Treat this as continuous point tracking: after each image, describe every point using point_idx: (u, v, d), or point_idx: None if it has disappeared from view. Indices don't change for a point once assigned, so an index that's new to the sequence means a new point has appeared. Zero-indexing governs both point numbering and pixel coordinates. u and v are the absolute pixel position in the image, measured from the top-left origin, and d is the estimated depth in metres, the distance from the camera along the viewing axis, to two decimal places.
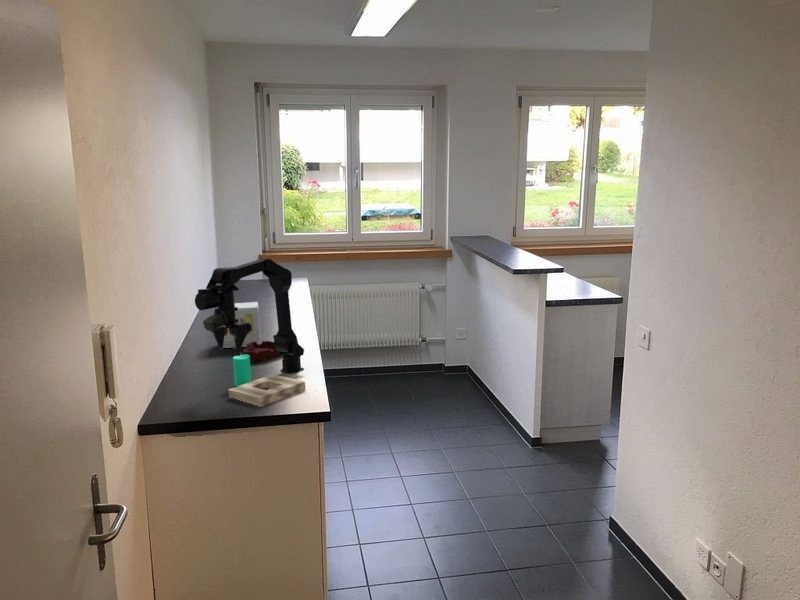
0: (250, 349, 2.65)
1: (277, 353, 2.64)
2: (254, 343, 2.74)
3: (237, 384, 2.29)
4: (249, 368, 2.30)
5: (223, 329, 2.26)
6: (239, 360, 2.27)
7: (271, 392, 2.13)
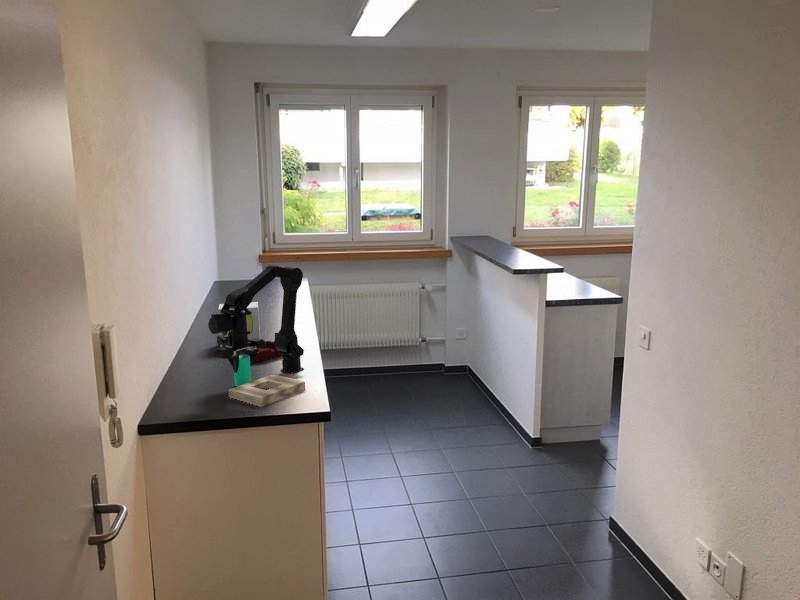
0: None
1: (278, 353, 2.64)
2: None
3: (237, 384, 2.29)
4: (249, 368, 2.30)
5: (251, 353, 2.31)
6: (239, 360, 2.27)
7: (271, 392, 2.13)
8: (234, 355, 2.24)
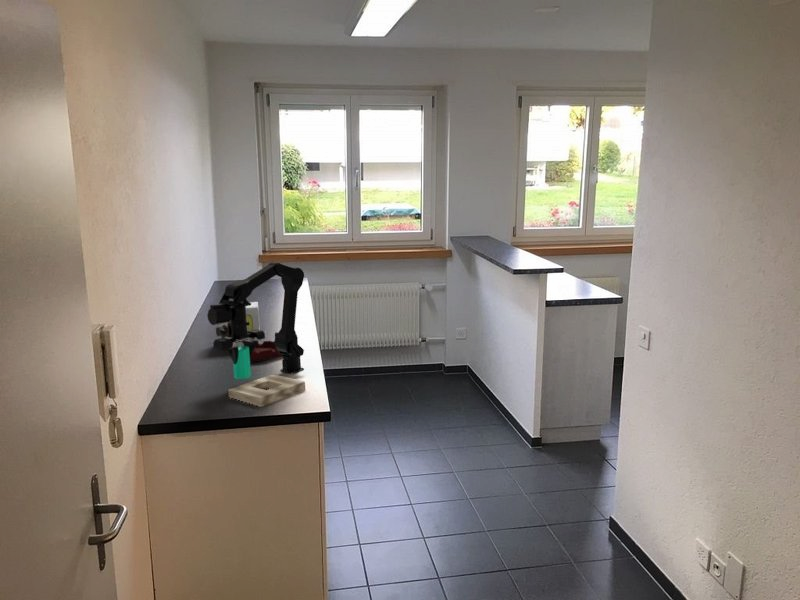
0: None
1: (278, 353, 2.64)
2: None
3: (236, 375, 2.28)
4: (248, 359, 2.29)
5: (250, 344, 2.30)
6: (238, 351, 2.26)
7: (271, 392, 2.13)
8: (233, 346, 2.24)
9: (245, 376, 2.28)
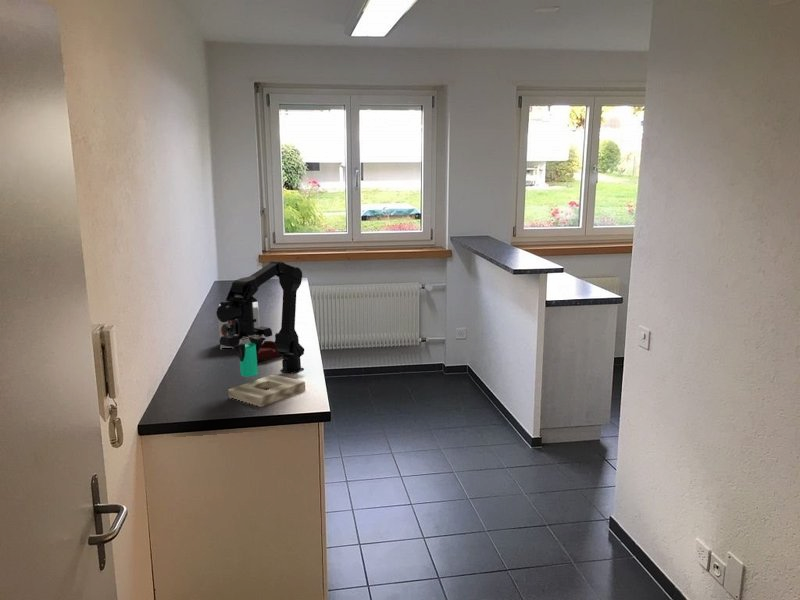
0: None
1: None
2: None
3: (243, 373, 2.25)
4: (255, 357, 2.25)
5: (257, 341, 2.26)
6: (245, 348, 2.23)
7: (271, 392, 2.13)
8: (240, 343, 2.20)
9: (252, 374, 2.25)
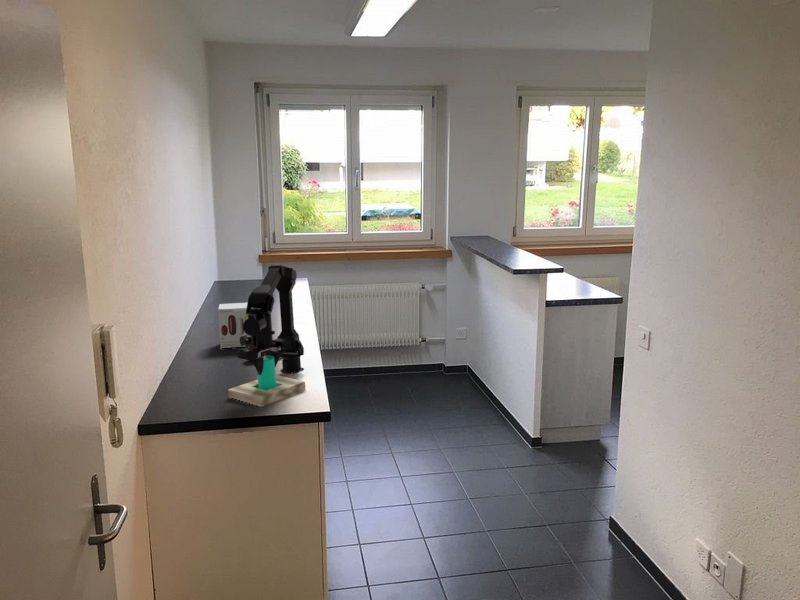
0: None
1: None
2: None
3: (261, 387, 2.18)
4: (273, 370, 2.19)
5: (276, 354, 2.20)
6: (263, 361, 2.16)
7: (271, 392, 2.13)
8: (258, 356, 2.14)
9: (270, 387, 2.18)
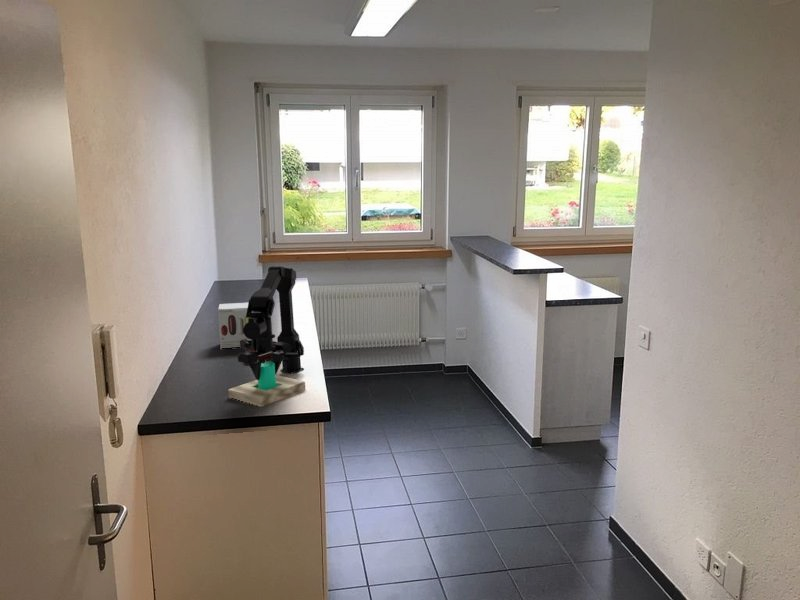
0: None
1: None
2: None
3: None
4: (274, 376, 2.19)
5: (278, 357, 2.21)
6: (264, 368, 2.16)
7: (271, 392, 2.13)
8: None
9: None
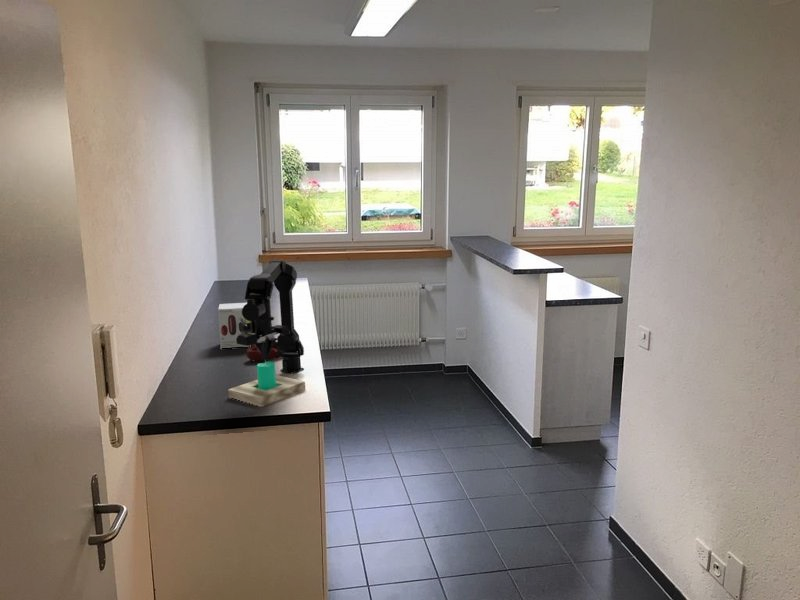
0: (254, 349, 2.65)
1: None
2: None
3: None
4: (274, 376, 2.19)
5: (269, 342, 2.17)
6: (264, 368, 2.16)
7: (271, 392, 2.13)
8: (263, 341, 2.15)
9: None
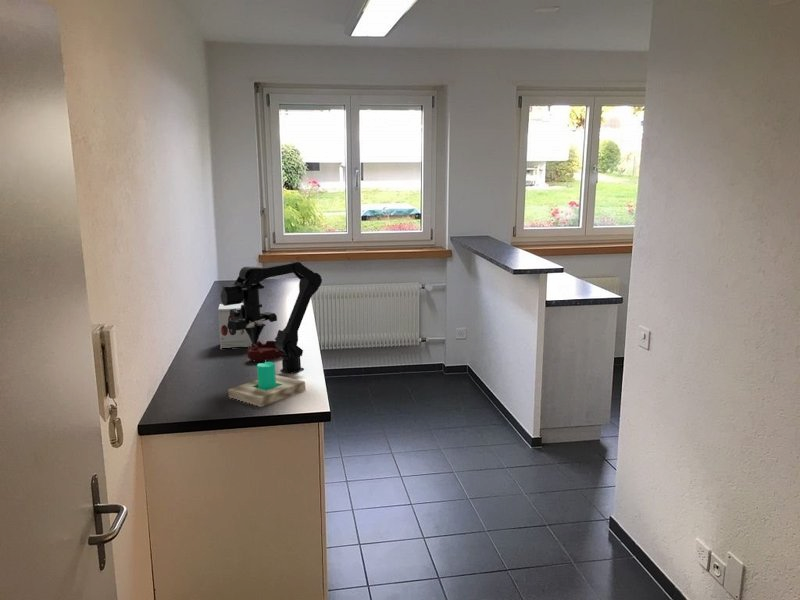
0: (254, 349, 2.65)
1: None
2: (258, 343, 2.74)
3: None
4: (274, 376, 2.19)
5: (258, 327, 2.35)
6: (264, 368, 2.16)
7: (271, 392, 2.13)
8: (252, 326, 2.32)
9: None
